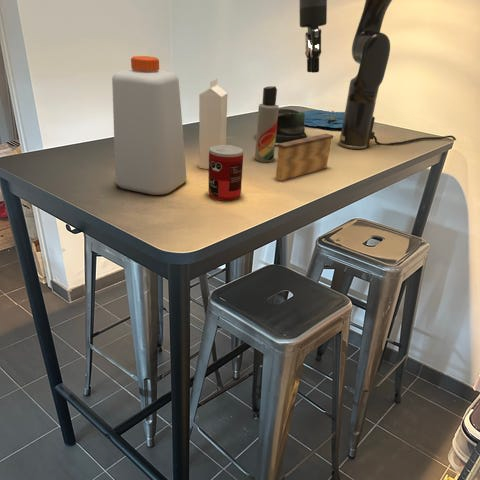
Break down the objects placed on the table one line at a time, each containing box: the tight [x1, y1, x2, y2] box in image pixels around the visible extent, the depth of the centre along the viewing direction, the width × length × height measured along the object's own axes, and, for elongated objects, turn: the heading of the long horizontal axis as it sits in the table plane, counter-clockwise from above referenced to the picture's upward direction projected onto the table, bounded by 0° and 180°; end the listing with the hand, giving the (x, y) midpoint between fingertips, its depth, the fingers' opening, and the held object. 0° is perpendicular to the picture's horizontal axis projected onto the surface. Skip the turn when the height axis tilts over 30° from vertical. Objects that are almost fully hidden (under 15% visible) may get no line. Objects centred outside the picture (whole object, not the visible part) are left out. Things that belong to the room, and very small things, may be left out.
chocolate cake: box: [275, 108, 309, 146], centre depth 157 cm, size 15×19×20 cm
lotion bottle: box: [254, 85, 280, 163], centre depth 132 cm, size 6×6×20 cm
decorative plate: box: [300, 109, 345, 129], centre depth 183 cm, size 30×30×5 cm
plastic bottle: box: [111, 55, 188, 196], centre depth 108 cm, size 15×15×28 cm
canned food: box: [208, 144, 244, 202], centre depth 109 cm, size 8×8×11 cm
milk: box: [198, 78, 228, 170], centre depth 124 cm, size 6×6×22 cm
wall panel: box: [275, 133, 334, 182], centre depth 127 cm, size 21×3×9 cm, turn 133°
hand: (312, 72), depth 135 cm, fingers open, 8 cm apart
